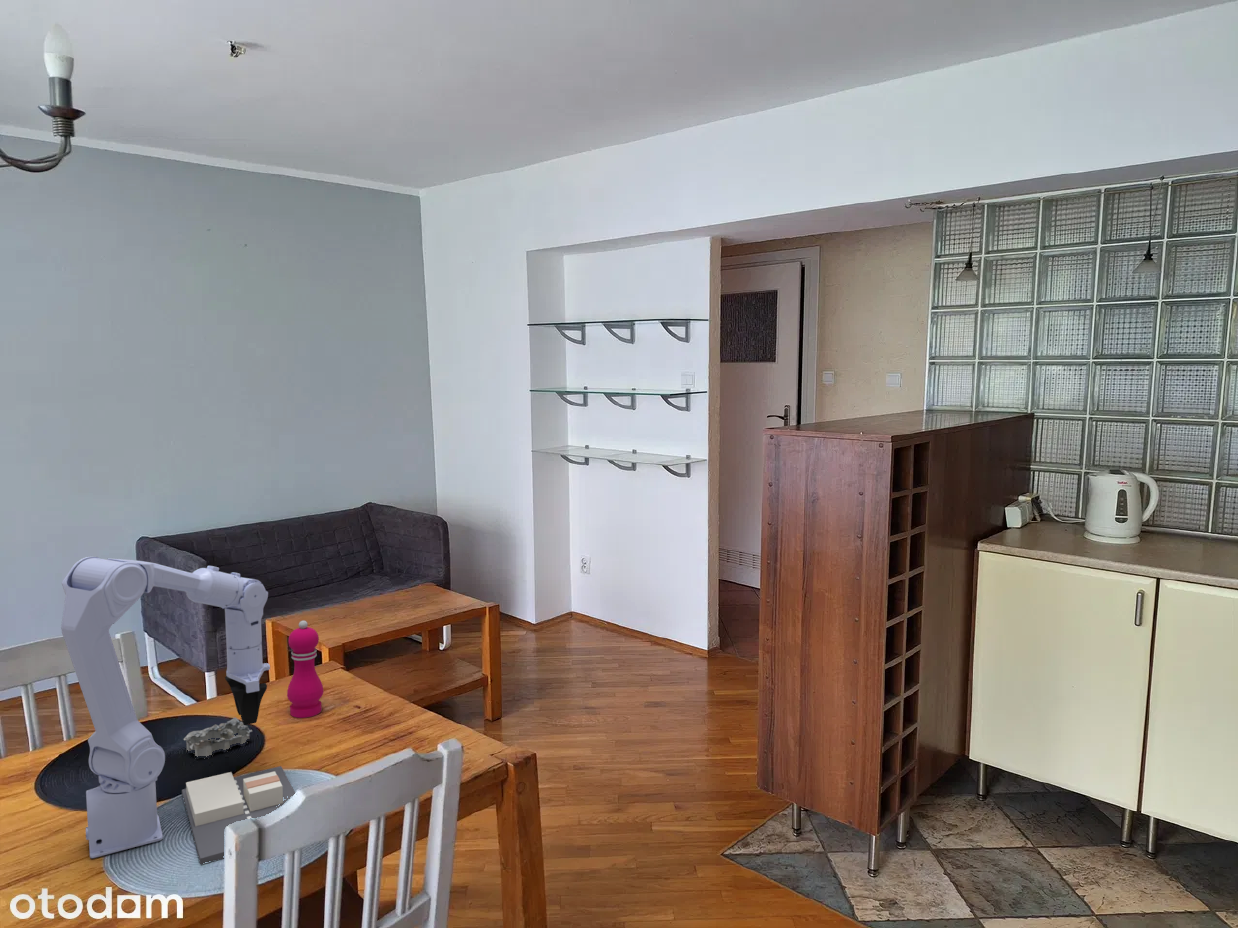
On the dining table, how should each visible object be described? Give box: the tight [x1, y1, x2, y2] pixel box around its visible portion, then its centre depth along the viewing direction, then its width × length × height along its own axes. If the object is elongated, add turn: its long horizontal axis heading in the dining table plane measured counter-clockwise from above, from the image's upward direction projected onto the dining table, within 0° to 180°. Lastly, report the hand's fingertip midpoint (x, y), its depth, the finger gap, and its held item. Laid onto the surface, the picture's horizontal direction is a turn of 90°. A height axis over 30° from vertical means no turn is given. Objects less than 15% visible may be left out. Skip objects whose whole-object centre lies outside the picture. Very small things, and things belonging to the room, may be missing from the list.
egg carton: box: [183, 717, 253, 757], centre depth 160 cm, size 11×8×4 cm
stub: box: [243, 771, 283, 812], centre depth 138 cm, size 5×6×3 cm
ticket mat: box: [181, 765, 296, 865], centre depth 136 cm, size 16×24×3 cm, turn 33°
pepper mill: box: [286, 620, 324, 719], centre depth 175 cm, size 7×7×20 cm
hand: (247, 718), depth 148 cm, fingers open, 4 cm apart
